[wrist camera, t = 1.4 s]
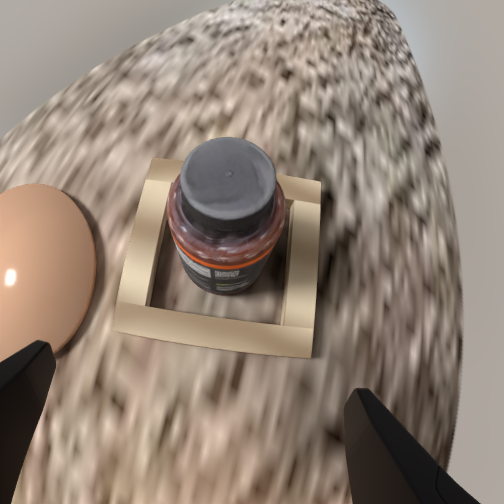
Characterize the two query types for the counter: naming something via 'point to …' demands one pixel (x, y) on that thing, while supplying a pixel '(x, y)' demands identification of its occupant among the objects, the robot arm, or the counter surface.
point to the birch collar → (212, 328)
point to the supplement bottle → (226, 214)
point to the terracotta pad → (43, 268)
